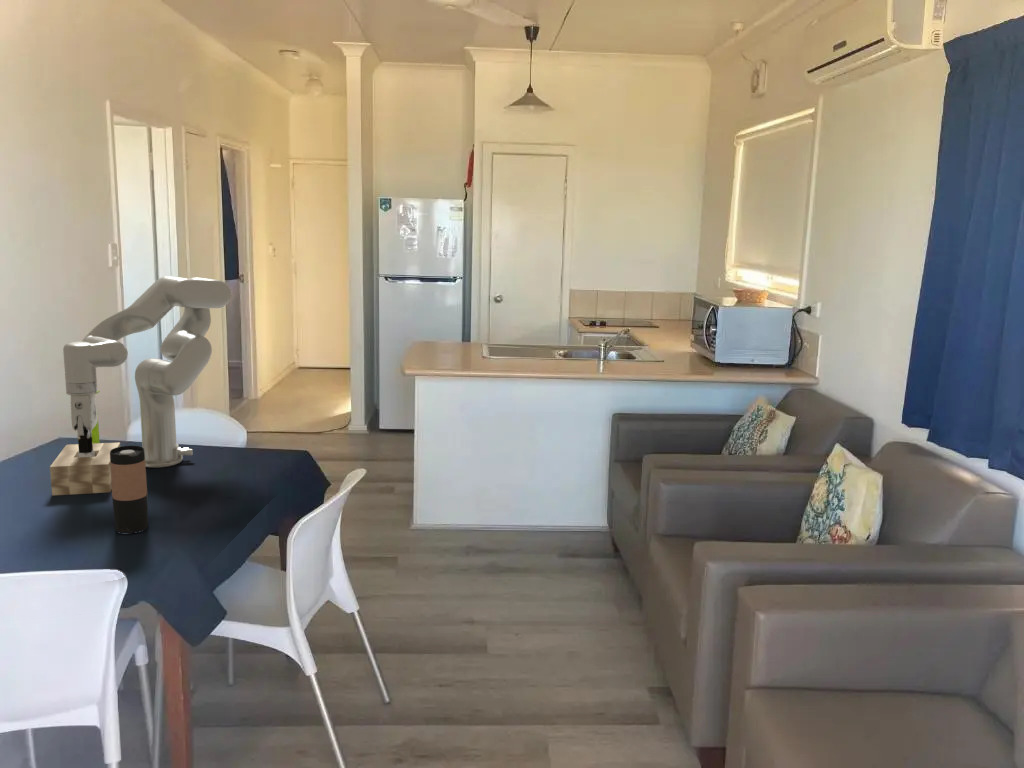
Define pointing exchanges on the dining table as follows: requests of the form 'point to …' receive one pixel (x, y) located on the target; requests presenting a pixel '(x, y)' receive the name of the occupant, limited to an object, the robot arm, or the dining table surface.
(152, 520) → the dining table surface
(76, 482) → the socket block
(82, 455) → the peg
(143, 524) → the travel mug
